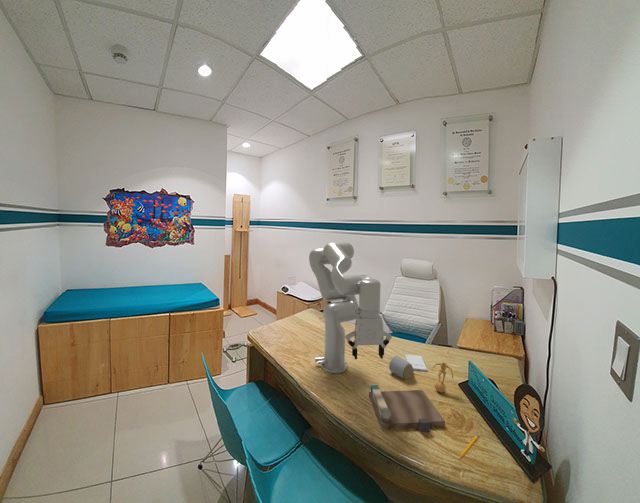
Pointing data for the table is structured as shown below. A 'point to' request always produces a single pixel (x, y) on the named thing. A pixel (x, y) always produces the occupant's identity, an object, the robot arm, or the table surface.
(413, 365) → the external hard drive
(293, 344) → the table surface
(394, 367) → the grey cylinder
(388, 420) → the stool leg
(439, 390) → the figurine
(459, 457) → the pencil
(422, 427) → the leg stop
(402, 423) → the brown wooden board
